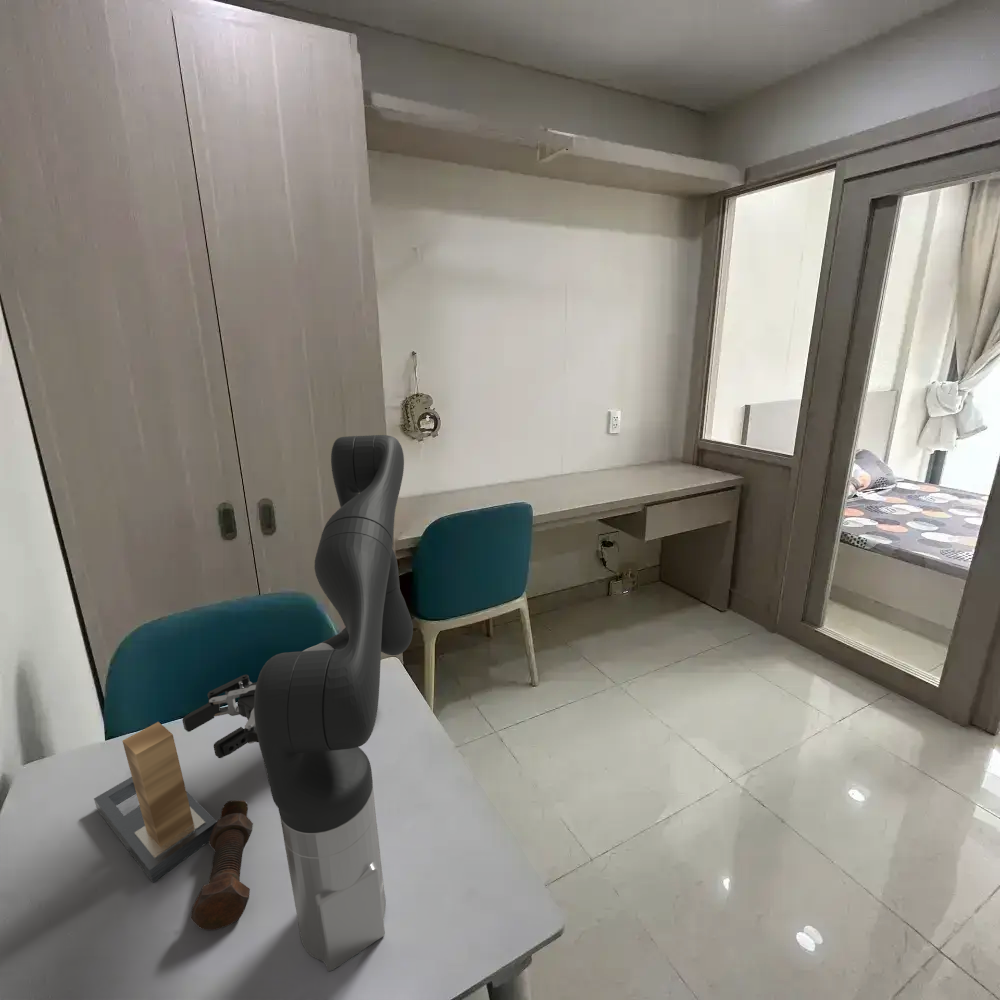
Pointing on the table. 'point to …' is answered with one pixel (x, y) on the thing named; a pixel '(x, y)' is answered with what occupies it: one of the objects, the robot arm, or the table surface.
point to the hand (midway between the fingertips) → (199, 738)
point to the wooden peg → (158, 782)
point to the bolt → (225, 870)
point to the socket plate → (139, 839)
